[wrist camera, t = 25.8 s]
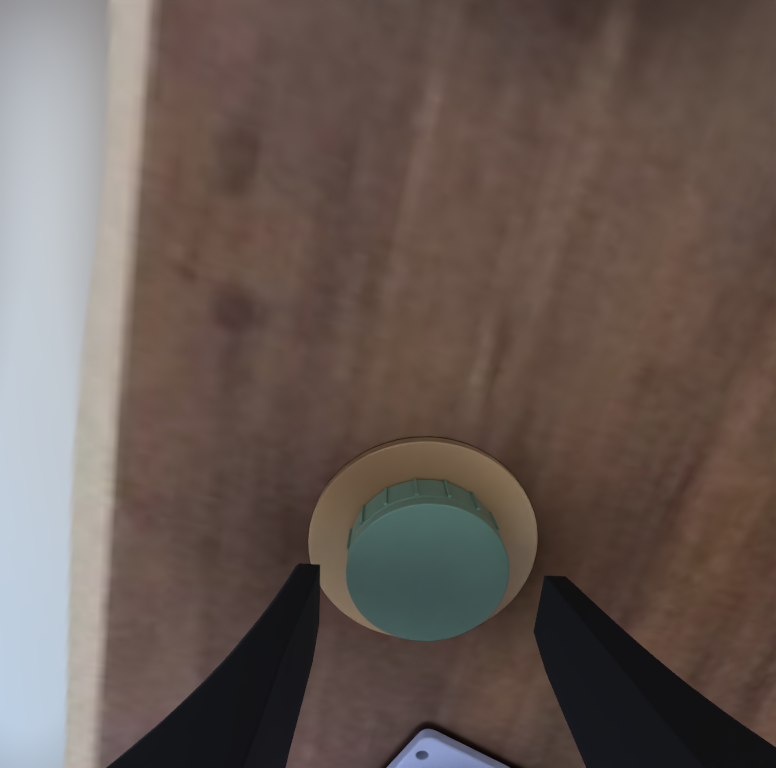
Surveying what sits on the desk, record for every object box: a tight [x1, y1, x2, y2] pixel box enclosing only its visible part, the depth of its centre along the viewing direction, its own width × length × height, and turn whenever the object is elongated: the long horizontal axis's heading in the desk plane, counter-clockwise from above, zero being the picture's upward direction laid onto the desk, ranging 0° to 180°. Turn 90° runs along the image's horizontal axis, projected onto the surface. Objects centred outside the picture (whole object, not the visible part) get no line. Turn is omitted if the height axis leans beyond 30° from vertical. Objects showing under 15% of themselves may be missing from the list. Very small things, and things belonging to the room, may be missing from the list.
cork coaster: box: [308, 437, 538, 636], centre depth 14 cm, size 8×8×1 cm
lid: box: [345, 478, 510, 641], centre depth 13 cm, size 5×5×2 cm
